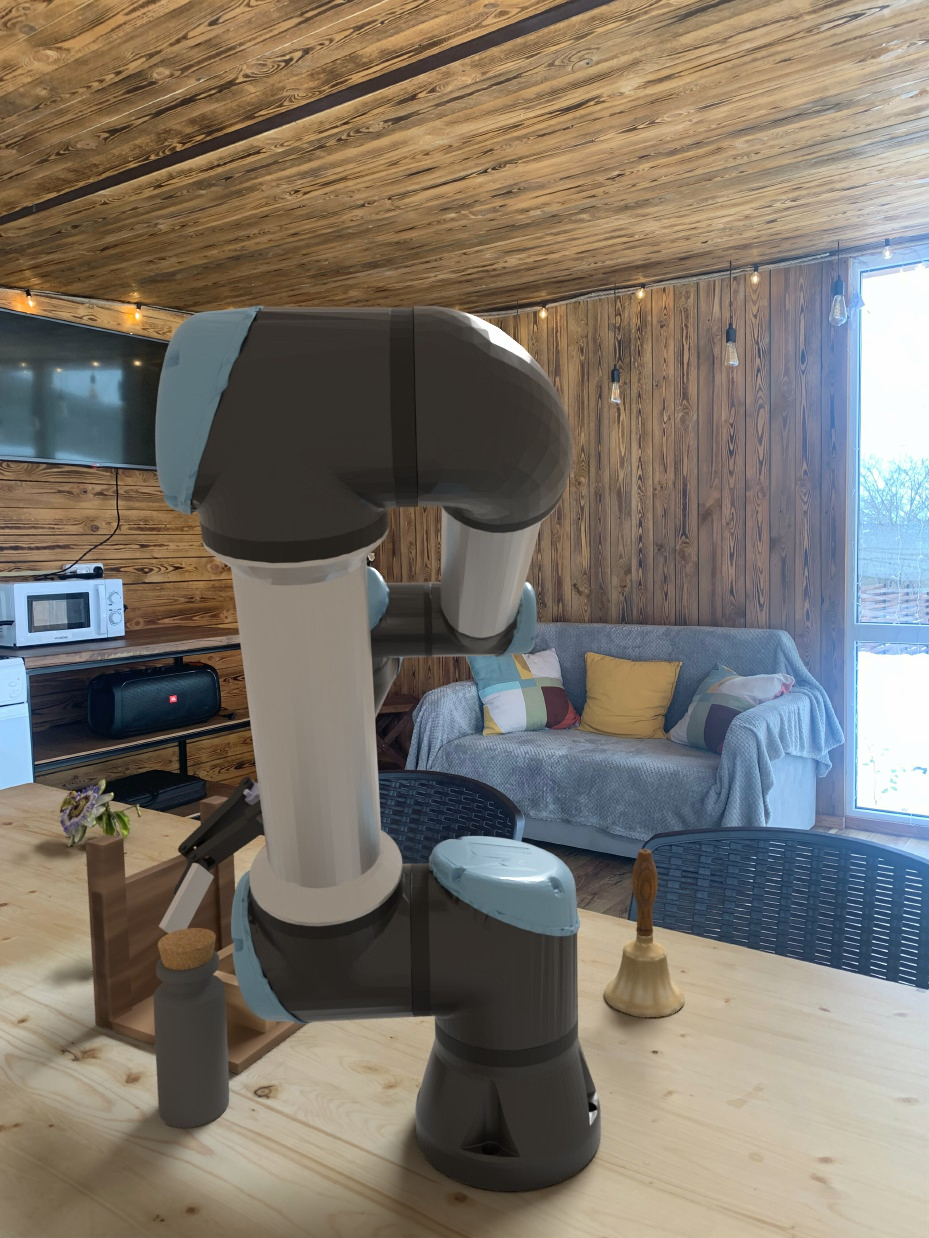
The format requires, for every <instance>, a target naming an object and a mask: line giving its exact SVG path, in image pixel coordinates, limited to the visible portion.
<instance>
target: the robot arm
mask: <svg viewBox="0 0 929 1238" xmlns="http://www.w3.org/2000/svg"><path fill="white" fill-rule="evenodd" d="M168 343H169V344H168V345H167V350H166V352H165V354H164V355H165V356H164V360H163V363H162V369H161V372H160V378H159V384H158V391H157V401H156V413H155V432H154V435H155V437H154V439H155V441H154V442H155V463H156V464H155V465H156V473H157V479H158V485H159V487H160V490H161V491H162V492H163V499H164V502H165V503H166V505H167V506H168V507H169V508H170V509H172V510H174V511H176V512H181V513H182V514H183V515H193V513H196V514H197V515H198V519H199V526H200V532H201V541H202V544H203V547H204V548H205V550H206V551H207V552H208V553H209V554H211V555H212V556H214V557H216V559H218V560H220V561H221V562H222V563H224V565H225V564H226V565H227V566H228V567H230V569H231V579H232V586H233V594H234V603H235V610H236V619H237V625H238V626H237V627H238V635H239V642H240V651H241V657H242V666H243V674H244V682H245V689H246V690H245V691H246V697H247V704H248V705H247V706H248V713H249V721H250V729H251V730H250V731H251V738H252V745H253V751H254V752H253V753H254V760H255V762H254V763H255V767H256V768H255V769H256V770H255V771H256V776H257V782H255V781H254V780H253V778H251V777H250V776H244V777H243V778H242V779H241V780H240V781H239V783H238V784H237V787H236V788H235V790H234V791H233V793H231V795H230V796H229V797H227V798H228V799H227V800H226V801H225V802H224V803H223V804H222V805H221V806H220V807H219V808H218V809H217V810H216V811H215V812H214V813H212V814H211V815H210V816H209V817H208V818H207V819H206V820H205V821H204V822H203V823H202V824H201V823H200V825H199V826H198V827H197V828H196V829H195V830H193V831H192V833H191V834H190V835H188V837H186V838H185V839H184V841H182V842H181V843H180V844H179V846H178V848H177V851H178V853H179V854H180V855H181V854H182V855H183V856H184V857H185V858H186V859H187V860H188V864H187V867H186V869H185V871H184V872H183V874H182V876H181V878H180V880H179V882H178V884H177V885H176V887H175V889H174V895H175V897H174V899H173V901H172V903H171V905H170V906H169V908H168V910H167V912H166V914H165V916H164V918H163V919H162V921H161V923H160V925H159V927H160V928H162V929H163V930H165V931H166V932H167V933H172V932H175V931H178V930H182V929H187V927H188V925H189V924H190V922H191V920H192V918H193V916H194V914H195V912H196V910H197V908H198V906H199V904H200V902H201V900H202V899H203V897H204V895H205V893H206V891H207V889H208V887H209V885H210V883H211V881H212V879H213V877H214V876H213V875H212V874H211V869H213V868H214V867H216V866H217V865H218V864H220V863H221V862H223V861H224V860H225V859H227V858H228V857H230V856H231V855H233V854H234V855H235V853H237V852H238V851H240V850H241V849H242V848H244V847H245V846H247V845H248V844H250V843H251V842H252V841H254V840H255V839H257V838H258V837H259V836H264V840H265V845H263V846H262V847H261V848H260V850H259V851H258V852H257V853H256V855H255V857H254V859H253V861H252V863H251V865H250V870H248V871H245V873H243V875H242V876H241V877H240V879H239V881H238V882H237V883H236V884H237V885H236V886H235V895H234V899H233V905H232V916H231V933H232V939H233V942H234V950H233V962H234V968H235V973H236V978H237V982H238V985H239V988H240V991H241V994H242V996H243V999H244V1001H245V1003H246V1005H247V1006H248V1007H249V1009H250V1010H251V1011H252V1012H253V1013H254V1014H255V1015H256V1016H258V1017H259V1018H262V1019H264V1020H268V1021H285V1022H295V1023H299V1024H304V1023H305V1025H308V1024H310V1023H318V1022H319V1023H321V1022H322V1023H323V1022H341V1021H360V1020H361V1021H363V1020H381V1019H382V1020H383V1019H402V1018H403V1019H404V1018H417V1017H419V1018H421V1017H422V1018H423V1017H424V1018H425V1017H427V1018H428V1017H434V1040H433V1043H432V1044H433V1045H432V1047H431V1051H430V1054H429V1055H428V1056H429V1057H428V1060H427V1064H426V1067H425V1070H424V1075H423V1078H422V1081H421V1086H420V1088H419V1090H418V1092H417V1095H416V1099H415V1108H414V1109H415V1111H414V1112H415V1115H414V1116H415V1137H416V1141H417V1145H418V1148H419V1149H420V1151H421V1153H422V1154H423V1156H424V1157H425V1159H426V1160H427V1161H428V1162H429V1163H430V1164H431V1165H432V1166H433V1167H434V1168H436V1169H437V1170H438V1171H440V1172H441V1173H442V1174H444V1175H446V1176H447V1177H449V1178H452V1179H454V1180H455V1181H458V1182H460V1183H462V1184H465V1185H468V1186H472V1187H475V1188H481V1189H485V1190H490V1191H498V1192H499V1191H501V1192H503V1191H504V1192H519V1191H520V1192H521V1191H528V1190H535V1189H539V1188H540V1189H541V1188H545V1187H549V1186H552V1185H554V1184H557V1183H560V1182H562V1181H564V1180H567V1179H568V1178H570V1177H572V1176H573V1175H575V1174H577V1173H578V1172H579V1171H581V1170H582V1169H583V1168H584V1167H585V1166H586V1165H587V1164H589V1162H590V1161H591V1160H592V1159H593V1157H594V1156H595V1155H596V1152H597V1151H598V1148H599V1145H600V1143H601V1135H602V1134H601V1133H602V1124H601V1123H602V1120H601V1119H602V1118H601V1117H602V1115H601V1114H602V1112H601V1111H602V1109H601V1104H600V1099H599V1095H598V1092H597V1089H596V1086H595V1083H594V1081H593V1077H592V1074H591V1071H590V1069H589V1066H588V1062H587V1060H586V1057H585V1056H586V1055H585V1053H584V1051H583V1047H582V1046H581V1045H582V1044H581V1042H580V1039H579V999H578V997H579V991H578V990H579V988H578V986H579V985H578V983H579V981H578V979H579V978H578V977H579V976H578V974H579V973H578V971H579V970H578V932H579V929H580V928H581V925H580V924H581V919H580V917H579V914H578V904H577V901H578V900H577V891H576V882H575V878H574V875H573V873H572V870H571V869H570V868H569V866H567V864H565V862H564V861H563V860H561V859H560V858H559V857H558V856H556V855H555V854H553V853H551V852H549V851H548V850H545V849H543V848H541V847H538V846H536V845H533V844H530V843H527V842H523V841H519V840H515V839H511V838H510V839H509V838H505V837H497V836H484V835H483V836H482V835H467V836H460V837H458V838H457V839H456V838H453V839H452V838H449V839H446V840H443V841H441V842H438V843H437V845H435V846H434V848H432V852H431V854H430V856H429V857H428V861H429V862H428V863H426V862H425V863H403V857H402V853H401V851H400V849H399V846H398V845H397V843H396V842H395V840H393V838H392V837H391V836H390V835H388V834H387V832H385V831H384V830H382V829H381V828H382V824H381V821H382V820H381V806H380V805H381V804H380V788H379V786H380V785H379V770H378V769H379V768H378V767H379V766H378V751H377V750H378V748H377V732H376V719H377V716H378V714H379V713H380V710H381V708H382V705H383V704H384V701H385V700H386V697H387V695H388V693H389V692H390V689H391V687H392V685H393V682H394V681H395V680H396V678H397V676H398V675H399V673H400V670H401V666H402V662H403V659H404V658H430V657H431V658H432V657H433V658H435V657H442V658H443V657H496V658H497V657H498V658H503V657H504V656H509V655H522V654H527V653H529V652H530V651H532V650H533V648H534V647H535V643H536V636H537V628H538V627H537V626H538V625H537V624H538V621H537V619H538V618H537V600H536V594H535V589H534V588H533V586H532V584H530V582H529V581H526V580H527V577H528V573H529V570H530V569H529V568H530V566H531V562H532V558H533V554H534V551H535V547H536V543H537V540H538V537H539V536H538V535H539V532H540V528H541V524H542V522H544V520H545V519H547V518H548V517H549V516H550V515H551V514H552V513H553V512H554V511H555V510H556V508H557V506H558V505H559V503H560V502H561V500H562V498H563V496H564V493H565V491H566V487H567V485H568V482H569V481H568V480H569V477H570V475H571V469H572V465H573V434H572V430H571V425H570V421H569V417H568V414H567V410H566V409H565V405H564V404H563V402H562V400H561V397H560V395H559V393H558V391H557V389H556V388H555V386H554V385H553V383H552V381H551V378H550V377H549V375H548V374H547V373H546V372H545V370H544V369H543V368H542V366H541V365H540V364H539V363H538V362H537V361H536V360H535V358H533V357H532V355H531V354H530V353H529V352H528V351H527V350H526V349H525V348H524V346H522V345H520V344H519V343H518V342H517V341H515V340H514V339H513V338H512V337H510V336H509V335H508V334H506V333H505V332H504V331H502V330H501V329H500V328H499V327H497V326H495V325H493V324H491V323H489V322H487V321H486V320H483V319H481V318H480V317H478V316H475V315H473V314H470V313H467V312H465V311H460V310H457V309H453V308H450V307H443V306H434V305H433V306H432V305H424V306H423V305H415V306H413V307H341V306H340V307H333V306H332V307H330V306H329V307H328V306H327V307H326V306H324V307H321V306H319V307H316V306H315V307H312V306H310V307H309V306H308V307H307V306H303V307H302V306H299V307H298V306H263V305H254V306H252V307H242V308H232V309H231V308H229V309H222V310H220V309H219V310H209V311H202V312H198V313H195V314H193V315H191V316H189V317H187V318H186V319H185V320H183V322H182V323H181V324H180V325H179V326H178V327H177V328H176V330H175V331H174V333H173V335H172V337H171V339H170V342H168ZM434 506H437V507H440V508H441V541H440V542H441V545H440V546H441V548H440V549H441V553H440V554H441V557H440V561H441V562H440V563H441V565H440V566H441V567H440V569H441V570H440V581H431V582H430V581H424V582H423V581H421V582H419V581H417V582H415V581H414V582H386V581H385V579H384V578H383V576H382V574H381V573H380V572H379V571H378V570H376V569H375V568H374V567H372V566H368V565H367V564H368V563H367V562H368V561H367V557H368V556H369V555H370V554H371V553H372V552H373V551H374V550H376V548H377V547H378V546H379V545H380V544H381V543H383V542H384V540H385V539H386V538H387V536H388V534H389V515H388V513H389V512H388V510H389V509H394V508H419V507H434ZM260 815H261V816H262V817H260ZM195 848H196V849H195ZM206 856H209V857H208V858H205V857H206Z"/></svg>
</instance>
